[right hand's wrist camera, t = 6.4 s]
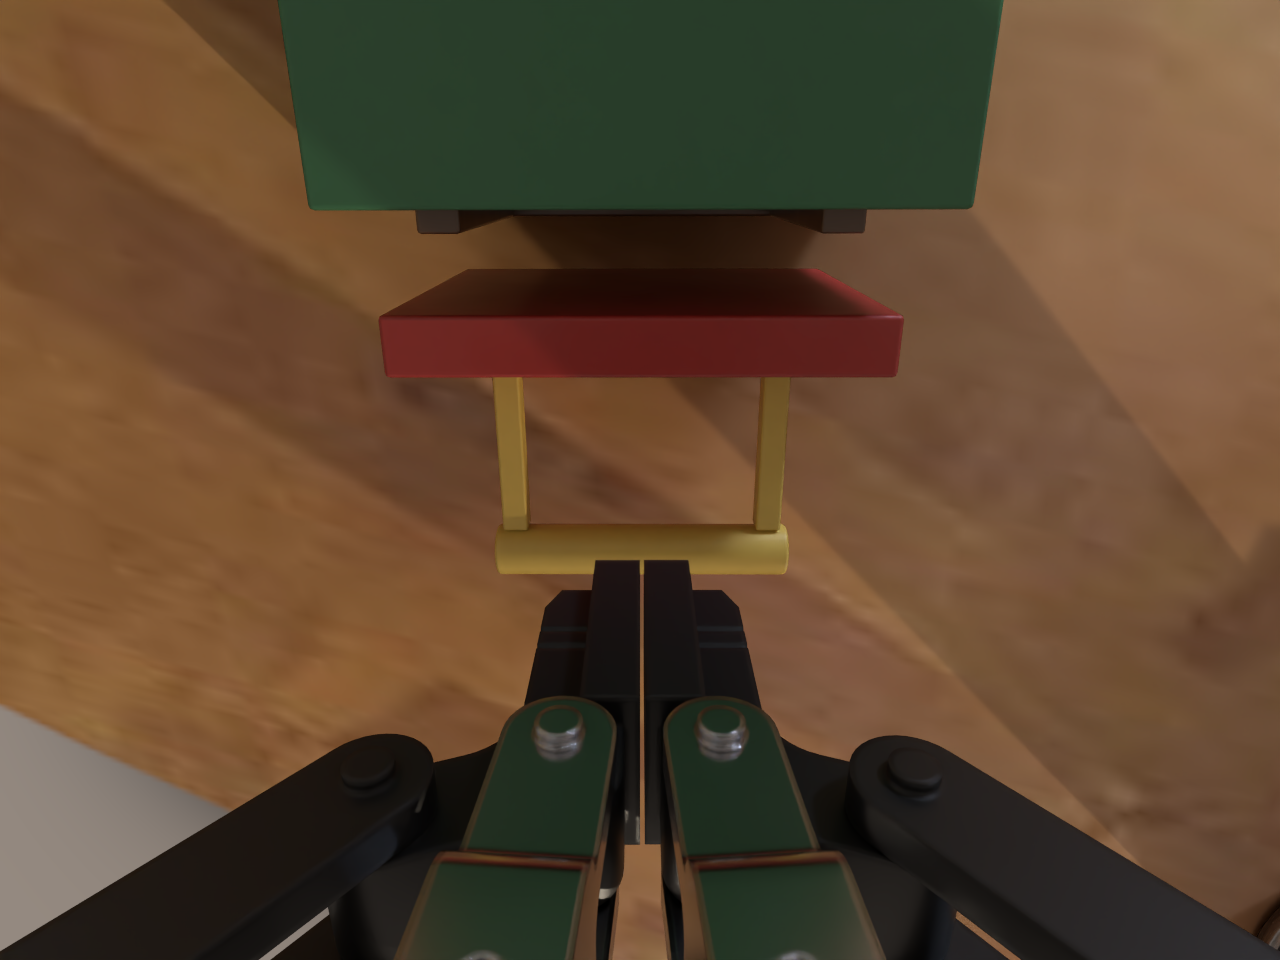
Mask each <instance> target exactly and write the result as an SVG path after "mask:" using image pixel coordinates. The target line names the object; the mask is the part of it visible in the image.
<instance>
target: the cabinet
mask: <svg viewBox="0 0 1280 960" xmlns="http://www.w3.org/2000/svg"><path fill="white" fill-rule="evenodd" d="M278 6H279V12H280V19H281V26H282V32H283V39H284V46H285V52H286V59H287V66H288V72H289V79H290V86H291V92H292V99H293V106H294V113H295V119H296V126H297V133H298V139H299V146H300V153H301V159H302V166H303V173H304V179H305V186H306V193H307V199H308V205H309V207H310V209H313V210H794V209H969V208H971V207H972V206H973V204H974V198H975V191H976V184H977V177H978V171H979V164H980V157H981V150H982V143H983V137H984V130H985V123H986V116H987V109H988V102H989V96H990V89H991V82H992V75H993V68H994V62H995V55H996V48H997V41H998V34H999V28H1000V21H1001V14H1002V7H1003V0H278Z"/></svg>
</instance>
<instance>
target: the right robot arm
mask: <svg viewBox="0 0 1280 960" xmlns="http://www.w3.org/2000/svg"><path fill="white" fill-rule="evenodd" d="M644 778H645V844H661V906H662V915H663V924H664V932H665V941H666V950H667V959H668V960H1009V959H1008V958H1006V957H1005V956H1004V955H1003V954H1001V953H1000V952H999V951H997V950H996V949H995V948H993V947H992V946H991V945H990V944H988V943H987V942H986V941H984V940H983V939H982V938H981V937H979V936H978V935H977V934H975V933H974V932H973V931H971V930H970V929H969V928H968V927H966V926H965V925H964V924H962V923H961V922H960V921H959V920H957V919H956V913H957V911H958V912H960V913H961V914H962V915H963V916H965V917H966V918H967V919H969V920H970V921H971V922H973V923H974V924H975V925H977V926H978V927H979V928H981V929H982V930H983V931H984V932H986V933H987V934H988V935H990V936H991V937H992V938H994V939H995V940H996V941H998V942H999V943H1000V944H1001V945H1003V946H1004V947H1005V948H1007V949H1008V950H1009V951H1011V952H1012V953H1013V954H1015V955H1016V956H1017V957H1018V958H1020V959H1021V960H1280V907H1279V908H1278V909H1277V910H1276V911H1275V912H1274V913H1273V914H1272V916H1271V917H1270V918H1269V919H1268V921H1267V922H1266V923H1265V925H1264V926H1263V928H1262V929H1261V931H1260V932H1259V934H1258V936H1257V937H1255V936H1254V935H1252V934H1250V933H1249V932H1247V931H1245V930H1244V929H1242V928H1240V927H1239V926H1237V925H1235V924H1234V923H1232V922H1230V921H1229V920H1227V919H1225V918H1224V917H1222V916H1221V915H1219V914H1217V913H1216V912H1214V911H1212V910H1211V909H1209V908H1207V907H1206V906H1204V905H1202V904H1201V903H1199V902H1197V901H1196V900H1194V899H1192V898H1191V897H1189V896H1187V895H1186V894H1184V893H1182V892H1181V891H1179V890H1178V889H1176V888H1174V887H1173V886H1171V885H1169V884H1168V883H1166V882H1164V881H1163V880H1161V879H1159V878H1158V877H1156V876H1154V875H1153V874H1151V873H1149V872H1148V871H1146V870H1144V869H1143V868H1141V867H1139V866H1138V865H1136V864H1135V863H1133V862H1131V861H1130V860H1128V859H1126V858H1125V857H1123V856H1121V855H1120V854H1118V853H1116V852H1115V851H1113V850H1111V849H1110V848H1108V847H1106V846H1105V845H1103V844H1101V843H1100V842H1098V841H1096V840H1095V839H1093V838H1092V837H1090V836H1088V835H1087V834H1085V833H1083V832H1082V831H1080V830H1078V829H1077V828H1075V827H1073V826H1072V825H1070V824H1068V823H1067V822H1065V821H1063V820H1062V819H1060V818H1058V817H1057V816H1055V815H1053V814H1052V813H1050V812H1049V811H1047V810H1045V809H1044V808H1042V807H1040V806H1039V805H1037V804H1035V803H1034V802H1032V801H1030V800H1029V799H1027V798H1025V797H1024V796H1022V795H1020V794H1019V793H1017V792H1015V791H1014V790H1012V789H1010V788H1009V787H1007V786H1006V785H1004V784H1002V783H1001V782H999V781H997V780H996V779H994V778H992V777H991V776H989V775H987V774H986V773H984V772H982V771H981V770H979V769H977V768H976V767H974V766H972V765H971V764H969V763H967V762H966V761H964V760H963V759H961V758H959V757H958V756H956V755H954V754H953V753H951V752H949V751H948V750H946V749H944V748H942V747H940V746H938V745H936V744H933V743H931V742H928V741H925V740H922V739H918V738H913V737H908V736H897V735H895V736H882V737H877V738H874V739H871V740H868V741H866V742H865V743H863V744H861V745H860V746H859V747H858V748H857V749H856V750H855V751H854V753H853V754H852V756H851V759H850V762H848V761H844V760H840V759H835V758H831V757H827V756H823V755H819V754H815V753H812V752H809V751H806V750H804V749H801V748H799V747H797V746H795V745H793V744H791V743H789V742H788V741H786V740H785V739H783V738H782V737H781V736H780V734H779V731H778V729H777V727H776V725H775V723H774V721H773V720H772V719H771V717H770V716H769V715H768V714H766V713H765V712H764V711H763V710H762V708H761V704H760V699H759V695H758V690H757V686H756V682H755V677H754V673H753V668H752V664H751V659H750V655H749V650H748V648H747V642H746V637H745V633H744V631H743V624H742V619H741V615H740V611H739V607H738V606H737V605H736V604H735V603H734V602H733V601H732V600H731V599H730V598H729V597H728V596H727V595H726V594H725V593H724V592H723V591H722V590H692V583H691V575H690V567H689V561H688V560H644ZM624 845H640V560H595V567H594V576H593V585H592V590H562V591H561V592H560V593H559V594H558V595H557V596H556V597H555V598H554V599H553V600H552V601H551V602H550V603H549V604H548V605H547V606H546V607H545V611H544V616H543V620H542V625H541V632H540V634H539V639H538V644H537V648H536V653H535V657H534V662H533V667H532V671H531V676H530V681H529V685H528V690H527V694H526V699H525V704H524V706H523V707H521V708H520V709H519V710H517V711H516V712H515V713H514V714H512V715H511V716H510V717H509V719H508V720H507V721H506V723H505V725H504V727H503V729H502V731H501V734H500V737H499V740H498V742H497V743H495V744H493V745H491V746H489V747H487V748H485V749H482V750H480V751H478V752H475V753H471V754H468V755H464V756H460V757H456V758H451V759H447V760H443V761H439V762H435V763H433V758H432V755H431V753H430V751H429V750H428V748H427V747H426V746H425V745H424V744H422V743H421V742H420V741H418V740H416V739H414V738H411V737H408V736H405V735H399V734H377V735H371V736H366V737H362V738H359V739H355V740H353V741H350V742H348V743H345V744H343V745H341V746H340V747H338V748H336V749H334V750H332V751H331V752H329V753H327V754H326V755H324V756H322V757H321V758H319V759H318V760H316V761H314V762H313V763H311V764H309V765H308V766H306V767H304V768H303V769H301V770H299V771H298V772H296V773H294V774H293V775H291V776H289V777H288V778H286V779H284V780H283V781H281V782H279V783H278V784H276V785H275V786H273V787H271V788H270V789H268V790H266V791H265V792H263V793H261V794H260V795H258V796H256V797H255V798H253V799H251V800H250V801H248V802H246V803H245V804H243V805H241V806H240V807H238V808H236V809H235V810H233V811H232V812H230V813H228V814H227V815H225V816H223V817H222V818H220V819H218V820H217V821H215V822H213V823H212V824H210V825H208V826H207V827H205V828H203V829H202V830H200V831H198V832H197V833H195V834H193V835H192V836H190V837H189V838H187V839H185V840H184V841H182V842H180V843H179V844H177V845H175V846H174V847H172V848H170V849H169V850H167V851H165V852H164V853H162V854H160V855H159V856H157V857H156V858H154V859H152V860H150V861H149V862H147V863H146V864H144V865H142V866H141V867H139V868H137V869H136V870H134V871H132V872H131V873H129V874H127V875H126V876H124V877H122V878H121V879H119V880H117V881H116V882H114V883H112V884H111V885H109V886H107V887H106V888H104V889H103V890H101V891H99V892H98V893H96V894H94V895H93V896H91V897H89V898H88V899H86V900H84V901H83V902H81V903H79V904H78V905H76V906H74V907H73V908H71V909H70V910H68V911H66V912H65V913H63V914H61V915H60V916H58V917H56V918H55V919H53V920H51V921H50V922H48V923H46V924H45V925H43V926H41V927H40V928H38V929H36V930H35V931H33V932H31V933H30V934H28V935H27V936H25V937H23V938H22V939H20V940H18V941H17V942H15V943H13V944H12V945H10V946H8V947H7V948H5V949H3V950H2V951H0V960H259V959H260V958H261V957H263V956H264V955H265V954H267V953H268V952H269V951H271V950H272V949H273V948H275V947H276V946H277V945H279V944H280V943H281V942H282V941H284V940H285V939H286V938H288V937H289V936H290V935H292V934H293V933H294V932H296V931H297V930H298V929H299V928H301V927H302V926H303V925H305V924H306V923H307V922H309V921H310V920H311V919H313V918H314V917H315V916H317V915H318V914H319V913H320V912H322V911H323V910H324V909H326V908H327V907H328V909H329V915H328V916H327V917H325V918H324V919H323V920H322V921H320V922H319V923H318V924H316V925H315V926H314V927H312V928H311V929H310V930H309V931H307V932H306V933H305V934H303V935H302V936H301V937H300V938H298V939H297V940H296V941H294V942H293V943H292V944H290V945H289V946H288V947H287V948H285V949H284V950H283V951H281V952H280V953H279V954H277V955H276V956H275V957H274V958H272V959H271V960H612V959H613V950H614V941H615V932H616V924H617V915H618V906H619V885H620V883H621V880H622V877H623V871H624Z"/></svg>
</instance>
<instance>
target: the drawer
mask: <svg viewBox="0 0 1280 960" xmlns="http://www.w3.org/2000/svg"><path fill="white" fill-rule="evenodd" d="M415 212H416V222H417V230H418V232H419V233H421V234H458V233H462V232H465V231H468V230H471V229H474V228H477V227H480V226H484V225H487V224H490V223H493V222H496V221H499V220H502V219H506V218H509V217H512V216H773V217H776V218H779V219H782V220H785V221H788V222H791V223H794V224H797V225H800V226H803V227H806V228H809V229H812V230H815V231H818V232H821V233H863V232H864V231H865V223H866V213H867V209H794V210H415ZM903 323H904V319H903V316H902V315H900V314H898V313H896V312H894V311H893V310H891V309H889V308H887V307H885V306H884V305H882V304H880V303H878V302H876V301H875V300H873V299H871V298H869V297H867V296H866V295H864V294H862V293H860V292H858V291H857V290H855V289H853V288H851V287H849V286H847V285H846V284H844V283H842V282H840V281H838V280H837V279H835V278H833V277H831V276H829V275H828V274H826V273H824V272H822V271H820V270H818V269H468V270H466V271H464V272H462V273H460V274H458V275H456V276H454V277H452V278H451V279H449V280H447V281H445V282H443V283H441V284H439V285H438V286H436V287H434V288H432V289H430V290H428V291H426V292H424V293H423V294H421V295H419V296H417V297H415V298H413V299H411V300H410V301H408V302H406V303H404V304H402V305H400V306H398V307H397V308H395V309H393V310H391V311H389V312H387V313H385V314H383V315H382V316H380V317H379V328H380V336H381V344H382V352H383V360H384V368H385V374H386V376H388V377H492V380H493V393H494V407H495V421H496V434H497V448H498V461H499V475H500V489H501V502H502V516H503V524H501V525H499V527H498V529H497V532H496V538H495V563H496V568H497V570H498V572H499V573H501V574H594V567H595V560H640V574H644V560H688V561H689V567H690V574H784V573H785V572H786V570H787V566H788V559H789V543H788V534H787V530H786V528H785V526H784V525H782V524H780V521H781V507H782V493H783V479H784V465H785V451H786V436H787V422H788V408H789V394H790V380H791V377H894V376H896V374H897V372H898V364H899V356H900V348H901V339H902V331H903ZM522 377H761V384H760V401H759V419H758V437H757V455H756V473H755V490H754V508H753V522H754V524H530V521H531V515H530V498H529V481H528V464H527V447H526V430H525V413H524V396H523V379H522Z"/></svg>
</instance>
